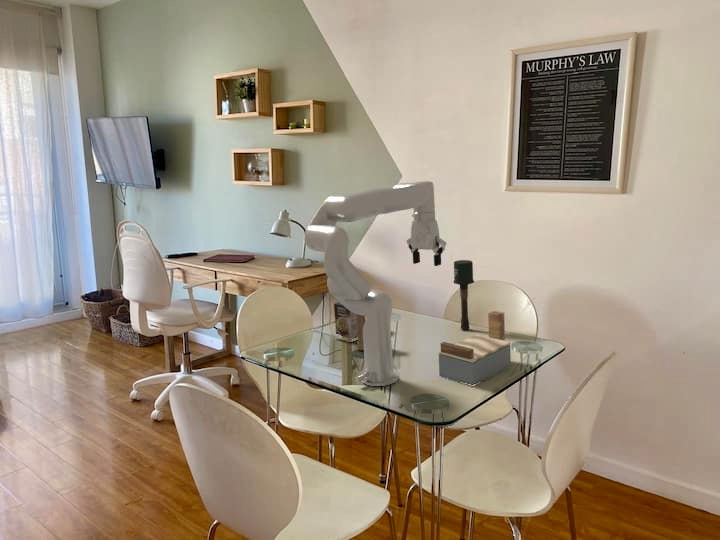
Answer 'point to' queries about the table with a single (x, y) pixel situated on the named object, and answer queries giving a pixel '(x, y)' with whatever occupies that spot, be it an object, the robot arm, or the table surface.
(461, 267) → the stick grenade
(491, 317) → the brown wooden bar
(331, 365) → the table surface
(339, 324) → the coffee box
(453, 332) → the table surface
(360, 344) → the wooden block
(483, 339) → the lid
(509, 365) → the grey open box
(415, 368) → the table surface
